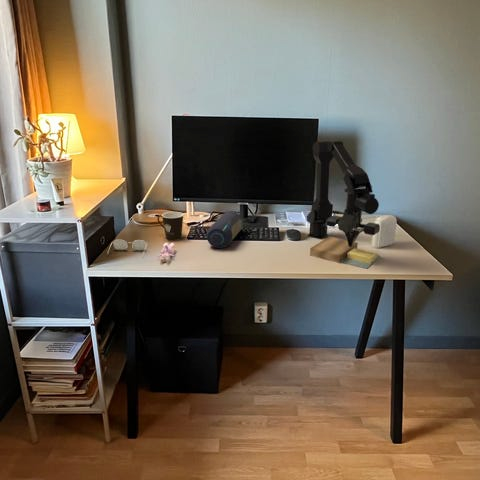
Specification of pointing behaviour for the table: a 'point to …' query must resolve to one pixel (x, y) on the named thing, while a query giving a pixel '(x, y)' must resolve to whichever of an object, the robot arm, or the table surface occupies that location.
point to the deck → (332, 249)
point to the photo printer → (384, 231)
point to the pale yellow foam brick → (361, 255)
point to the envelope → (364, 218)
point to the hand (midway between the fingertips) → (350, 246)
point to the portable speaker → (225, 229)
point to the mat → (359, 262)
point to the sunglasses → (123, 245)
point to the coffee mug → (172, 225)
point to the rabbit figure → (166, 252)
